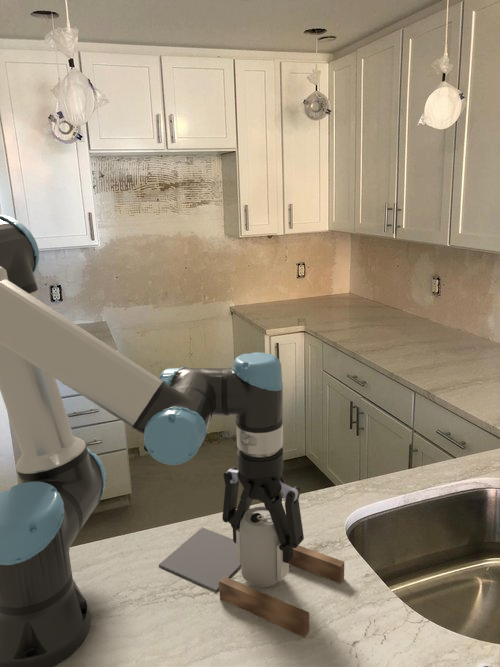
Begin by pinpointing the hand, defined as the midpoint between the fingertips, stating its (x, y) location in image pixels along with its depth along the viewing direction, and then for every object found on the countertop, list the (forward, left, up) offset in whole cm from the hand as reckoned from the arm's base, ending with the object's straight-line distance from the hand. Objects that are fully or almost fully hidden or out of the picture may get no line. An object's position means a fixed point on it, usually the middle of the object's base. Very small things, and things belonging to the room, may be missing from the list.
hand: (262, 567), depth 95 cm
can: (0, 0, -2) cm, 2 cm away
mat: (-12, 0, -3) cm, 12 cm away
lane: (+4, 0, -3) cm, 5 cm away
